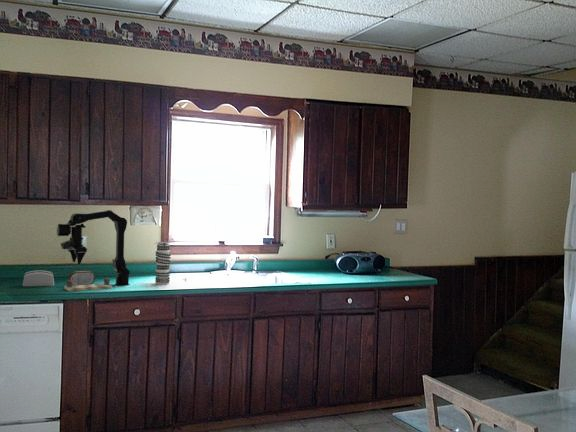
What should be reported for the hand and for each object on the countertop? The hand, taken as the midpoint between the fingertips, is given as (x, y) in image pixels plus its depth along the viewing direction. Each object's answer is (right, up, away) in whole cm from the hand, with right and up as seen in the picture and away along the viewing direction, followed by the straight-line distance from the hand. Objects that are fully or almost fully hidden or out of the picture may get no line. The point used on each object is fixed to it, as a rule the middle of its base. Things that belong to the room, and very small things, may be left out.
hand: (76, 263), depth 354 cm
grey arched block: (-22, -13, +1) cm, 26 cm away
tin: (+1, -14, +7) cm, 15 cm away
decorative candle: (+44, -14, +24) cm, 52 cm away
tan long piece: (+8, -14, -3) cm, 16 cm away
